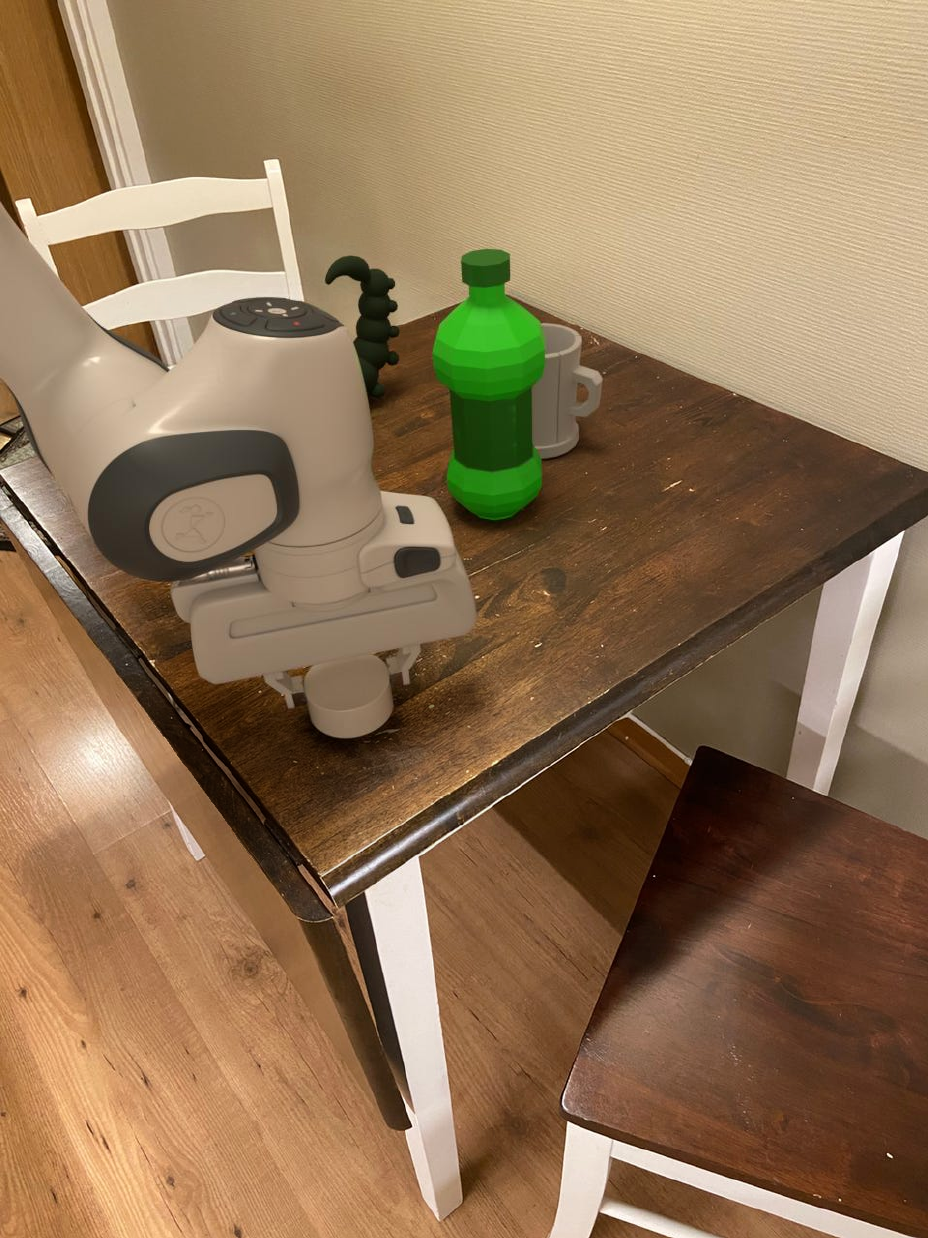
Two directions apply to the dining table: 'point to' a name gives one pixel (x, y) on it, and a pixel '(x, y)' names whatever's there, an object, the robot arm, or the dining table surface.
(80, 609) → the dining table surface
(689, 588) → the dining table surface
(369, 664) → the beige hockey puck
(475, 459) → the plastic bottle
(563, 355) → the cup
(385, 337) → the toy figurine
